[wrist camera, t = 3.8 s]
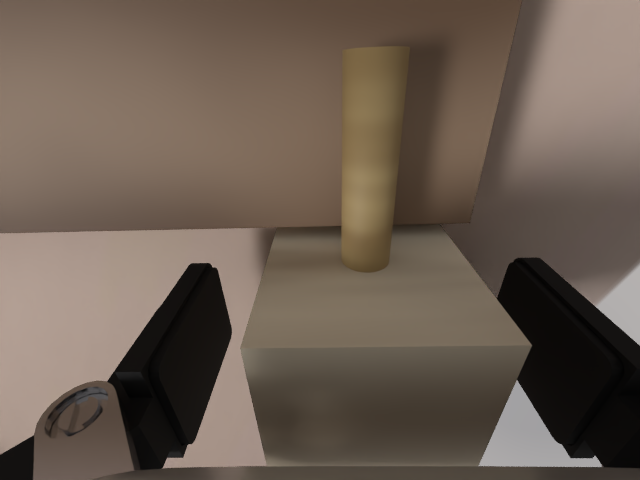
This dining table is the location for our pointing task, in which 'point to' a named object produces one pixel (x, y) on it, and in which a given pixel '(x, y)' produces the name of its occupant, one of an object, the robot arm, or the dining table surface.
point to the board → (233, 109)
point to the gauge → (376, 316)
